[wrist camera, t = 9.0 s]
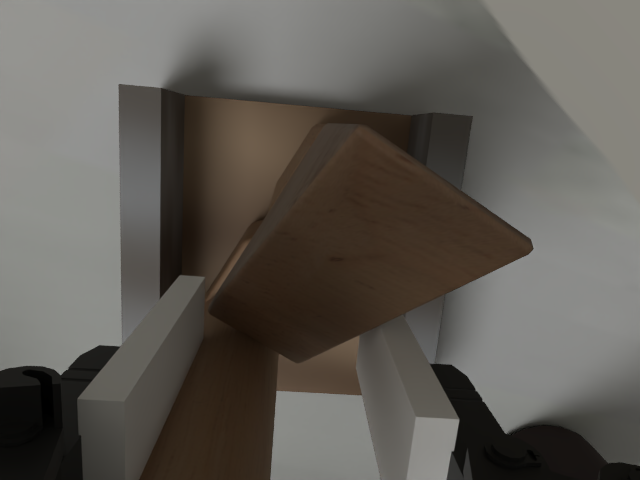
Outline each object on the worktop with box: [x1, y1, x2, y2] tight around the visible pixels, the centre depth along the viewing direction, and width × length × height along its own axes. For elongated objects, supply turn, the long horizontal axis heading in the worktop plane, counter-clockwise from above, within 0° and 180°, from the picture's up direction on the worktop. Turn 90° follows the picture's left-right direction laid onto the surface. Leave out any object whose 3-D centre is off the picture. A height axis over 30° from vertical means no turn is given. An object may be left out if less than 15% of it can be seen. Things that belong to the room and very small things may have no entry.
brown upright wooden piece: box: [139, 123, 533, 480], centre depth 13 cm, size 4×11×18 cm, turn 147°
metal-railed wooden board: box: [119, 84, 473, 395], centre depth 21 cm, size 14×13×4 cm
